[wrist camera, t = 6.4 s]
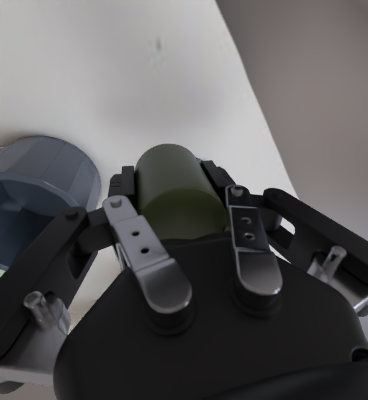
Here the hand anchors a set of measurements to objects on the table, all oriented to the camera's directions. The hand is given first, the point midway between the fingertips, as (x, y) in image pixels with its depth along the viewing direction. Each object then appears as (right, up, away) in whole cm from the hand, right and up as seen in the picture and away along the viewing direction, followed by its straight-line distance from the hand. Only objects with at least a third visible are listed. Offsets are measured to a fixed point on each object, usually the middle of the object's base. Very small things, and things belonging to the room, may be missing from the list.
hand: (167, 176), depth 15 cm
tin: (0, 0, 0) cm, 0 cm away
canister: (-16, +1, +14) cm, 21 cm away
